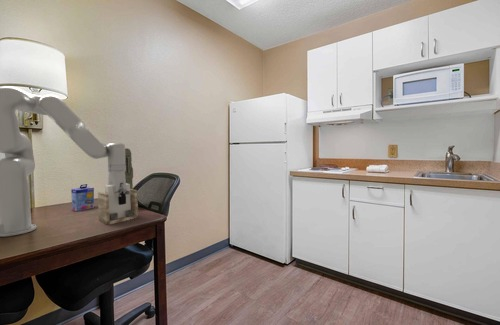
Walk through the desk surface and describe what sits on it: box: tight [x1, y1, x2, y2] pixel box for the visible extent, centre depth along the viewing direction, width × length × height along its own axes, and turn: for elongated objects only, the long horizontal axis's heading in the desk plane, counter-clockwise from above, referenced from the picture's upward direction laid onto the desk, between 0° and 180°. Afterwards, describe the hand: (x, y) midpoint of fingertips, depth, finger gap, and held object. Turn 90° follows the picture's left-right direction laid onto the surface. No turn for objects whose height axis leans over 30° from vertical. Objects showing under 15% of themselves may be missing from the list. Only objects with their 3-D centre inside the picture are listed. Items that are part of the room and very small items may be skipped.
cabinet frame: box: [97, 188, 139, 226], centre depth 117 cm, size 14×10×14 cm
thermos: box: [125, 148, 134, 190], centre depth 141 cm, size 9×12×35 cm
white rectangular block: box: [104, 183, 131, 220], centre depth 117 cm, size 10×5×16 cm, turn 140°
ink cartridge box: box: [70, 183, 95, 212], centre depth 137 cm, size 10×6×14 cm, turn 155°
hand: (118, 202), depth 117 cm, fingers open, 9 cm apart
